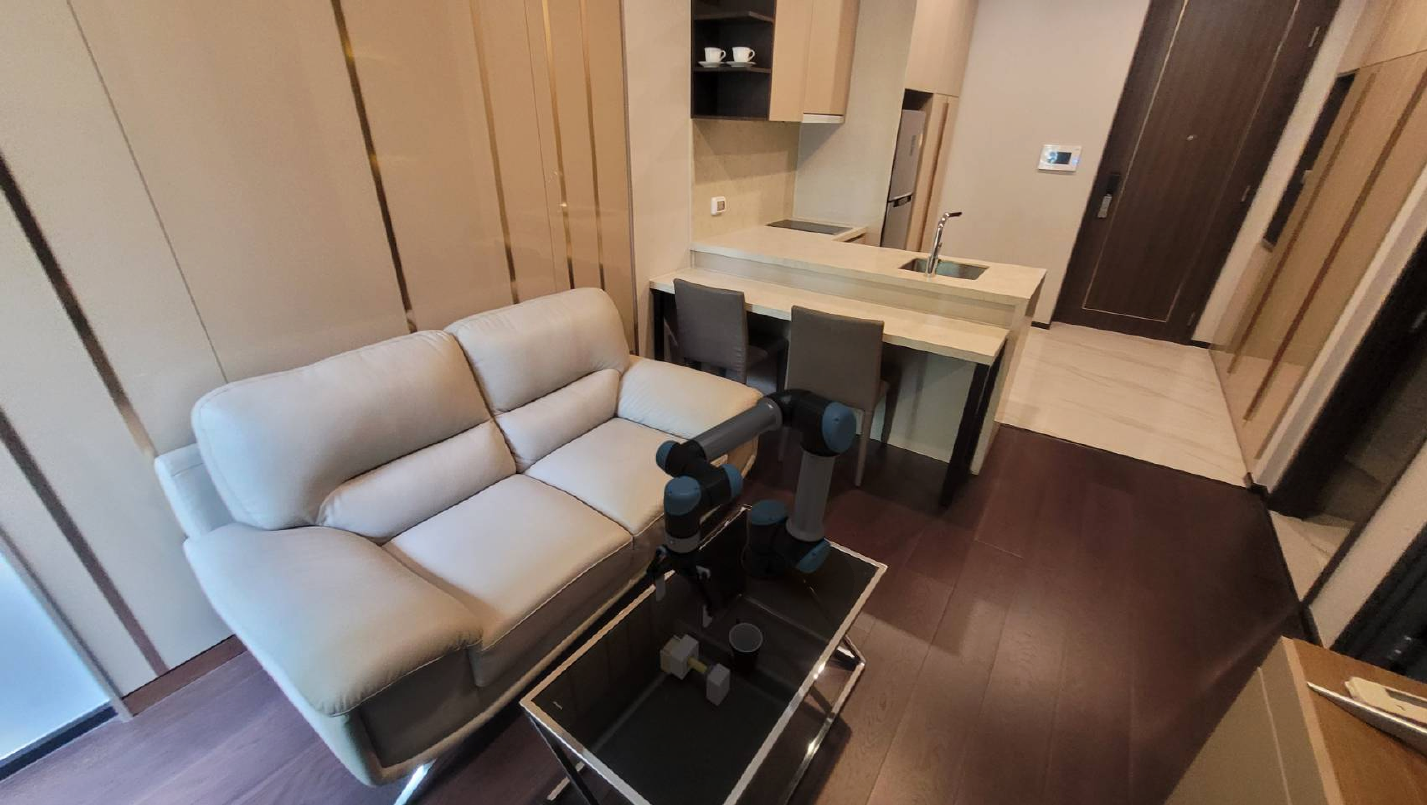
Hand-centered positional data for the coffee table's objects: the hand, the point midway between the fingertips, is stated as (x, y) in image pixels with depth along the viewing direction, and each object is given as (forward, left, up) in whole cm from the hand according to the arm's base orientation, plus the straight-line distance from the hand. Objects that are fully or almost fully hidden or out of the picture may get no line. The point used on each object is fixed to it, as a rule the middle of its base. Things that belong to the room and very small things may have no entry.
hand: (683, 609), depth 123 cm
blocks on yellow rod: (-2, +2, -26) cm, 26 cm away
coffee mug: (-15, +9, -26) cm, 31 cm away
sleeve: (-2, -1, -24) cm, 24 cm away
